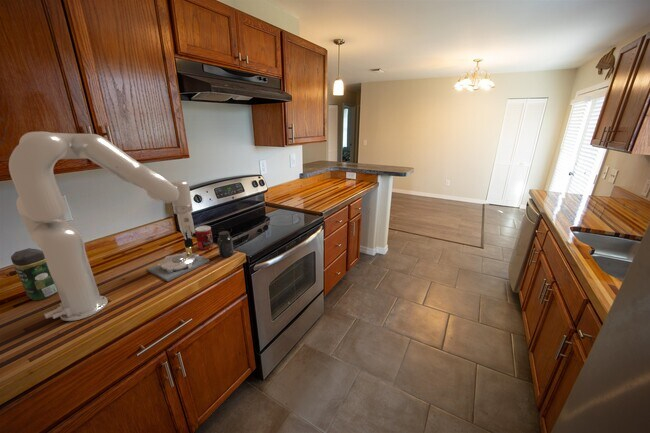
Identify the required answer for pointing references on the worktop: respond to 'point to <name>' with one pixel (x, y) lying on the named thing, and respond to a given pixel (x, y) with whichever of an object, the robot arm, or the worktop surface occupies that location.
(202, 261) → the base plate
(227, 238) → the supplement bottle
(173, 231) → the worktop surface
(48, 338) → the worktop surface
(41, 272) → the coffee jar
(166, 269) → the silver shallow bowl
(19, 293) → the worktop surface
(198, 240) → the canned food
